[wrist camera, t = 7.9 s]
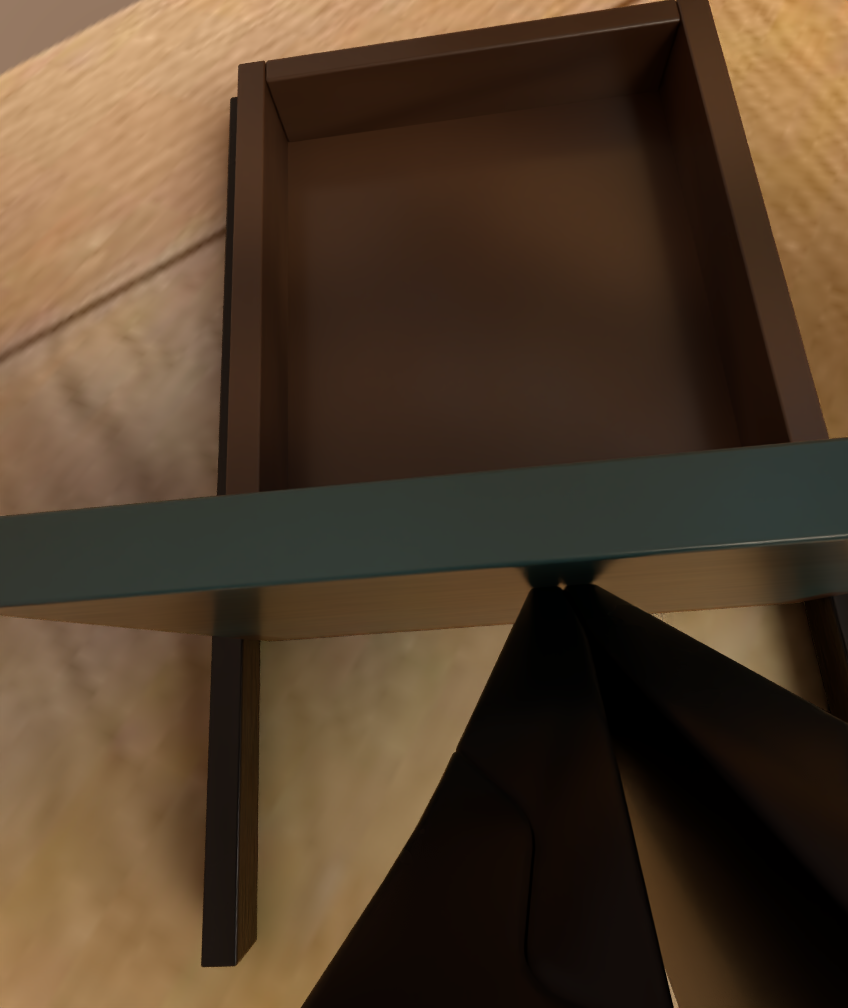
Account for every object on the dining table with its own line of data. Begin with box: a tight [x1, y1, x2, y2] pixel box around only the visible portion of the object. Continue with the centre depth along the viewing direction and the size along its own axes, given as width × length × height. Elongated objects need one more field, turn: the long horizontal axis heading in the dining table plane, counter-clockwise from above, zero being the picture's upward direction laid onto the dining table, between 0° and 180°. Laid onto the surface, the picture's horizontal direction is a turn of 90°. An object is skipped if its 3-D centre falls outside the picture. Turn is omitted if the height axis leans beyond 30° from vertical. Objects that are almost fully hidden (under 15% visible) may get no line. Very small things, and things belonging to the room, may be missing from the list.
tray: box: [0, 0, 848, 642], centre depth 12 cm, size 16×13×9 cm
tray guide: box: [201, 97, 848, 967], centre depth 15 cm, size 24×15×1 cm, turn 4°
